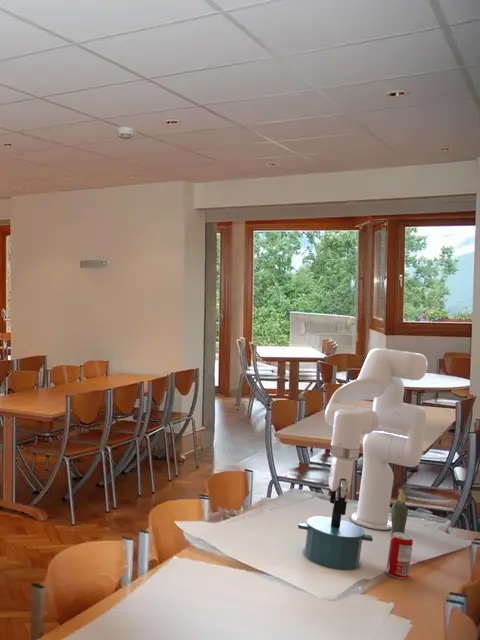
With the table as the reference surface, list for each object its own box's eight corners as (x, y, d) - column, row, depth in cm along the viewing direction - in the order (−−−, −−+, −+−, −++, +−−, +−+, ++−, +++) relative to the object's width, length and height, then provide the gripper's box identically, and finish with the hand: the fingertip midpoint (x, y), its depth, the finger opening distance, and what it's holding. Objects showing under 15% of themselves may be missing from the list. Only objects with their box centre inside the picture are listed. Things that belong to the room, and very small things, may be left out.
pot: (294, 543, 230) (297, 513, 229) (365, 556, 224) (368, 526, 223) (296, 561, 217) (300, 530, 216) (372, 576, 210) (376, 543, 209)
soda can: (390, 568, 216) (395, 529, 215) (410, 576, 212) (416, 535, 211) (383, 574, 212) (388, 533, 211) (404, 581, 208) (409, 540, 207)
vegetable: (403, 556, 226) (412, 493, 224) (388, 554, 227) (396, 491, 224) (399, 550, 230) (407, 488, 228) (384, 548, 231) (392, 486, 229)
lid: (304, 516, 229) (307, 495, 228) (360, 525, 224) (363, 504, 224) (308, 534, 215) (310, 512, 214) (367, 544, 210) (370, 522, 209)
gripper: (327, 443, 226) (321, 497, 228) (333, 457, 210) (325, 515, 211) (354, 447, 224) (347, 502, 225) (362, 461, 207) (354, 520, 209)
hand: (337, 508), depth 218 cm, fingers open, 9 cm apart
